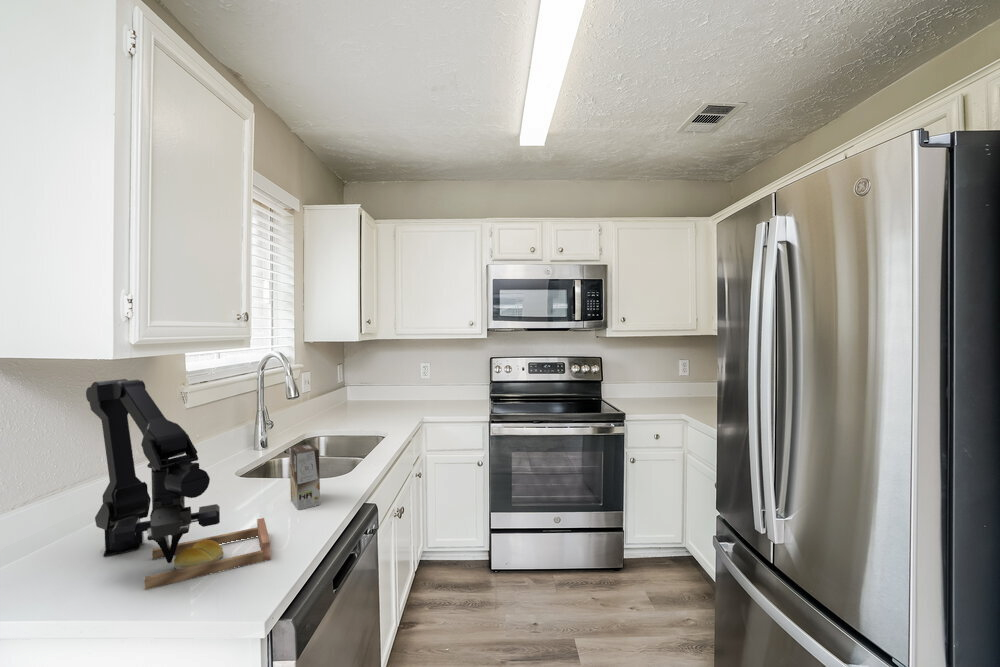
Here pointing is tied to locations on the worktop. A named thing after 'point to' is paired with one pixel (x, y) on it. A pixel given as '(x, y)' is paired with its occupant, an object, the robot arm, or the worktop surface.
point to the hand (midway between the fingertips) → (170, 561)
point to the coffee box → (304, 476)
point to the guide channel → (215, 565)
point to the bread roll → (198, 554)
